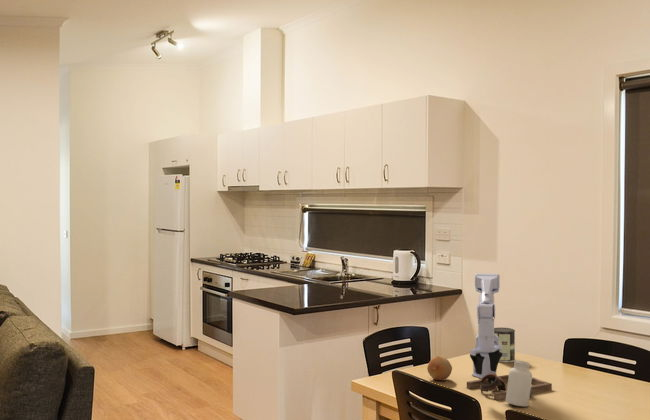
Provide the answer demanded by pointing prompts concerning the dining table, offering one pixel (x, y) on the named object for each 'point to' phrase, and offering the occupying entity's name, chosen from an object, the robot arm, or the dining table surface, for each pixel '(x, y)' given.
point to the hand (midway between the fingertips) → (486, 372)
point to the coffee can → (506, 343)
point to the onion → (439, 368)
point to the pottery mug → (492, 383)
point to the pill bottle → (519, 384)
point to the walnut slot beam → (537, 384)
